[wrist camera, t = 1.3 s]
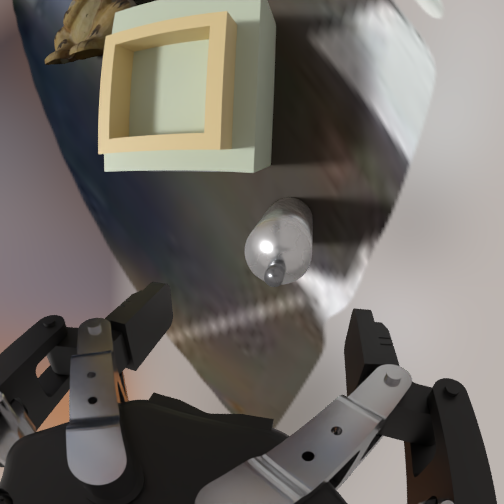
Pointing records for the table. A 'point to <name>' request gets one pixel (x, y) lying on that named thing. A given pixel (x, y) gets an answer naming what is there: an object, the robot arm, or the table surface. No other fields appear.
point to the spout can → (281, 242)
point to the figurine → (85, 29)
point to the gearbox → (188, 87)
